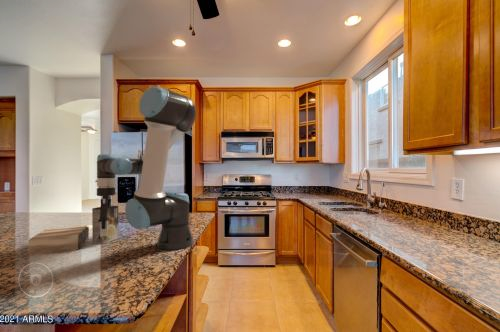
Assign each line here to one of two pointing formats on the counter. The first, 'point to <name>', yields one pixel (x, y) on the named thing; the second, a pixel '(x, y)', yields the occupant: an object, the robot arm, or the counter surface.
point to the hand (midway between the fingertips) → (105, 232)
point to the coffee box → (111, 225)
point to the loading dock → (58, 240)
